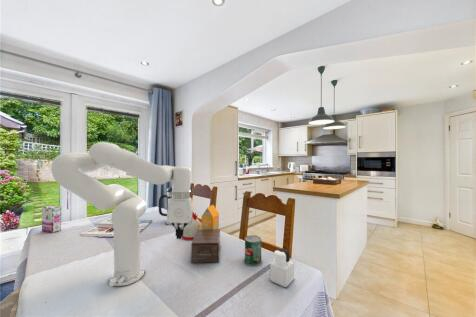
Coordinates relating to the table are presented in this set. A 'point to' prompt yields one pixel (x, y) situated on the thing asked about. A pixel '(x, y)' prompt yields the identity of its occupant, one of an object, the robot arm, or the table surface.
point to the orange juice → (210, 218)
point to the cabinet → (207, 239)
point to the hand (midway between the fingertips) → (179, 237)
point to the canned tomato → (253, 250)
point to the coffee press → (167, 201)
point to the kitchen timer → (192, 228)
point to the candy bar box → (51, 218)
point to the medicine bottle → (282, 268)
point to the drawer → (204, 253)
